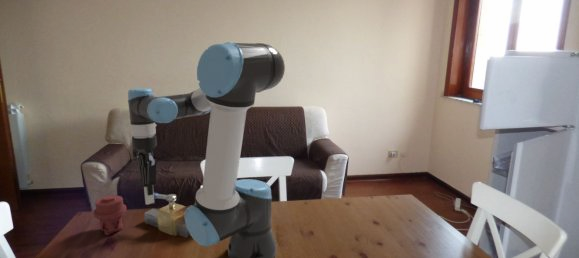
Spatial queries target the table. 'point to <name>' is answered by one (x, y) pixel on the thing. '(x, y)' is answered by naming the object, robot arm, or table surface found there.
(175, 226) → the pipe
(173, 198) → the lever
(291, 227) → the table surface
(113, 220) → the mechanical component
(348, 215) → the table surface
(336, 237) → the table surface
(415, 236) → the table surface
